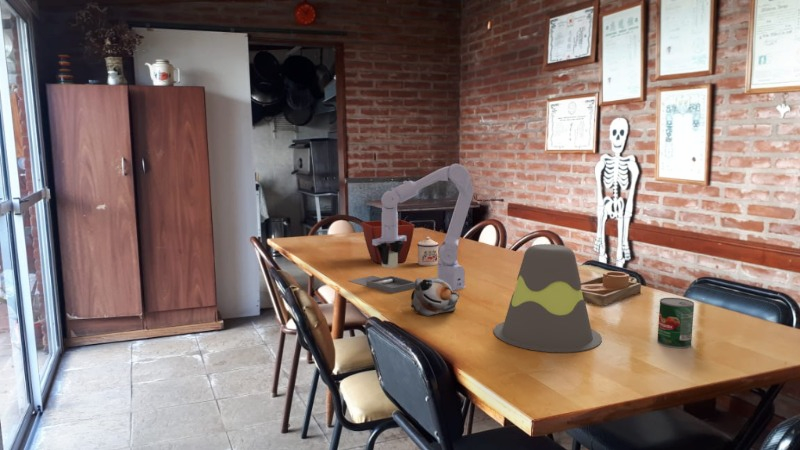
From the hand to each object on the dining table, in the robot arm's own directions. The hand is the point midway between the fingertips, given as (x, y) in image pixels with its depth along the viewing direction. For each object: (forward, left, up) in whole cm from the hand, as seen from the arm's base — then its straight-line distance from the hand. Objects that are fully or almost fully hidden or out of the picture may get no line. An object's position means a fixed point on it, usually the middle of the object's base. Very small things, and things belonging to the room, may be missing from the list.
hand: (389, 263), depth 203 cm
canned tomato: (-93, -15, -9) cm, 95 cm away
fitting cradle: (-56, -47, -9) cm, 74 cm away
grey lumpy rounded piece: (-32, +10, -9) cm, 35 cm away
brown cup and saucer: (-56, -47, -9) cm, 74 cm away
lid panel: (+12, 0, -9) cm, 15 cm away
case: (-1, 0, -9) cm, 9 cm away
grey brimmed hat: (-67, +3, -9) cm, 68 cm away
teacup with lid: (+20, -41, -9) cm, 46 cm away
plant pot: (+38, -32, -9) cm, 50 cm away
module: (0, 0, -1) cm, 1 cm away
